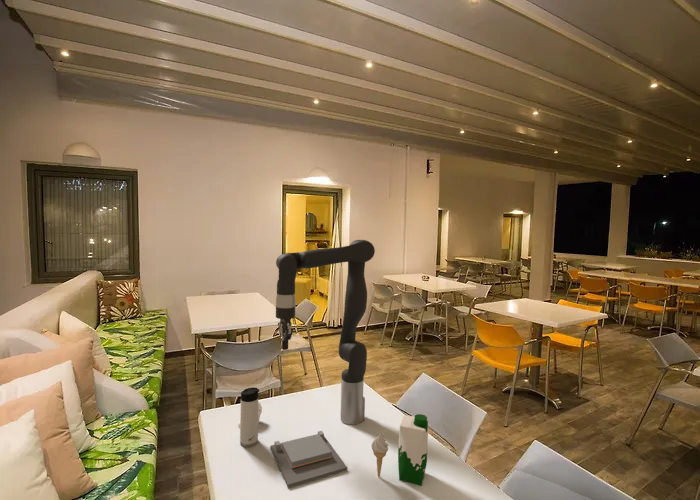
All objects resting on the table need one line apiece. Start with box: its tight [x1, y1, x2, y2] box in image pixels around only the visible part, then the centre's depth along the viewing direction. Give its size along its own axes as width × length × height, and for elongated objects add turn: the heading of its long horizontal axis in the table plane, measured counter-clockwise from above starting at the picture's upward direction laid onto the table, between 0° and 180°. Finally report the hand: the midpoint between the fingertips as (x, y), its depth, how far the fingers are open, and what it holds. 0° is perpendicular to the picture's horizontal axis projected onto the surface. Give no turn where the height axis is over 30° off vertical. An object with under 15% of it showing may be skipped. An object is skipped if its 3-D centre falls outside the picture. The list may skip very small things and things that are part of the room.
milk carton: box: [397, 413, 429, 487], centre depth 117 cm, size 9×9×20 cm
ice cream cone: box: [370, 431, 389, 478], centre depth 117 cm, size 6×6×15 cm
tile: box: [281, 433, 332, 468], centre depth 126 cm, size 14×2×12 cm
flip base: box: [269, 430, 348, 489], centre depth 125 cm, size 20×22×3 cm
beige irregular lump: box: [237, 401, 263, 430], centre depth 146 cm, size 6×8×12 cm
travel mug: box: [239, 387, 260, 448], centre depth 134 cm, size 6×7×20 cm
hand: (284, 349), depth 142 cm, fingers closed
